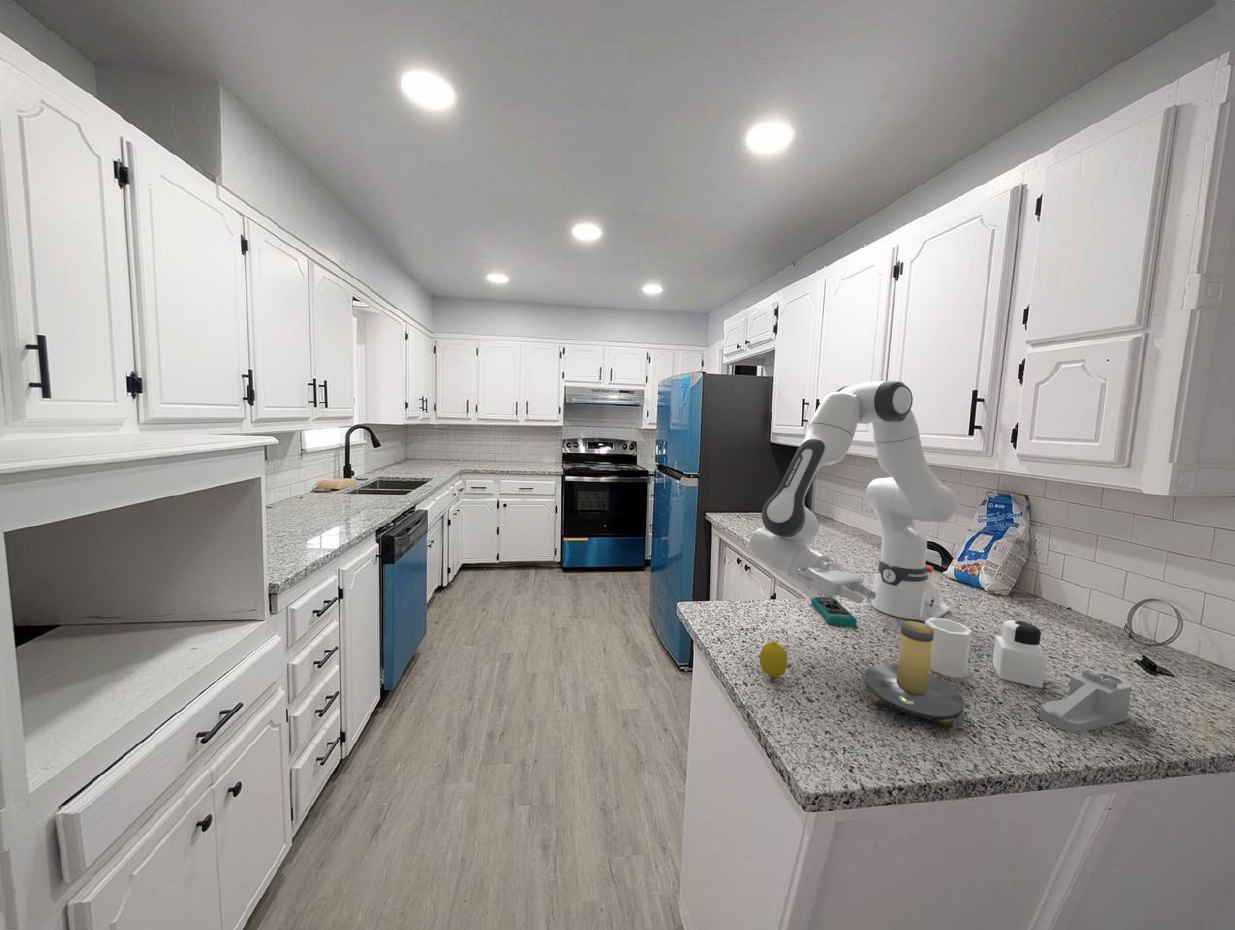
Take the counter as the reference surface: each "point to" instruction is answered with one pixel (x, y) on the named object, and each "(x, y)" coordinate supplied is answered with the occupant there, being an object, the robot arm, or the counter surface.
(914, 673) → the yellow lidded tumbler
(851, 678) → the counter surface
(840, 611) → the digital multimeter
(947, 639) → the mug
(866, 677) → the plate
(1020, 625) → the medicine bottle
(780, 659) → the lemon
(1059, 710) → the sloped support bracket
